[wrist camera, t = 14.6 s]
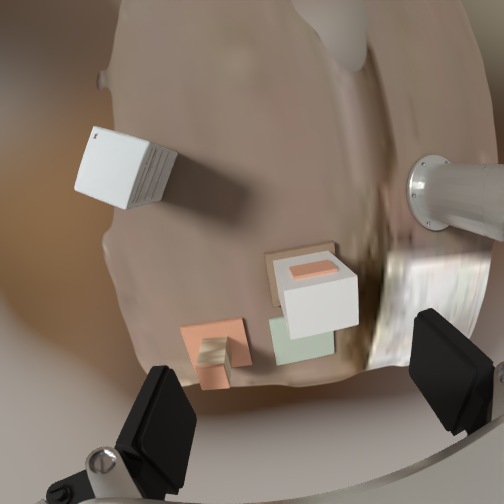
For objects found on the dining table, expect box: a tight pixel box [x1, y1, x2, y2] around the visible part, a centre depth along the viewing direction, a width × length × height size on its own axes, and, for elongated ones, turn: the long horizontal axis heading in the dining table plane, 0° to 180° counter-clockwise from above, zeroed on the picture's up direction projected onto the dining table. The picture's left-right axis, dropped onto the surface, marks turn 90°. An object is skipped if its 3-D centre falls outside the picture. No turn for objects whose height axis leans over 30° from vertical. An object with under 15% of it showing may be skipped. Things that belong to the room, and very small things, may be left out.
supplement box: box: [75, 126, 178, 210], centre depth 30 cm, size 7×7×13 cm
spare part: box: [195, 336, 232, 390], centre depth 38 cm, size 4×4×8 cm
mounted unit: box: [264, 241, 359, 340], centre depth 34 cm, size 10×8×12 cm
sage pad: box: [269, 316, 334, 365], centre depth 42 cm, size 10×9×1 cm
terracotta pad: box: [180, 318, 252, 372], centre depth 42 cm, size 10×9×1 cm
